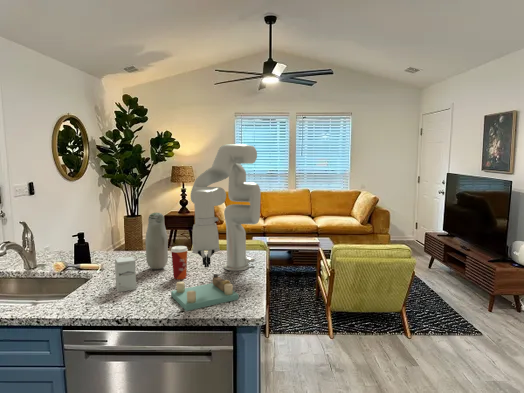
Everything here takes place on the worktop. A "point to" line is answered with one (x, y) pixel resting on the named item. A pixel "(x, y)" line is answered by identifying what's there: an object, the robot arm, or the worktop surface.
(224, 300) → the stool seat
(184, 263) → the paper cup
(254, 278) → the worktop surface
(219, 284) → the folding leg
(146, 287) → the worktop surface
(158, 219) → the grey ceramic bottle
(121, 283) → the supplement box
